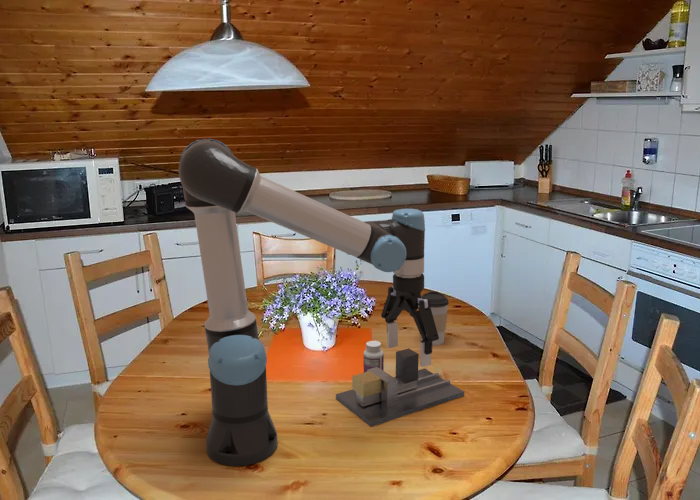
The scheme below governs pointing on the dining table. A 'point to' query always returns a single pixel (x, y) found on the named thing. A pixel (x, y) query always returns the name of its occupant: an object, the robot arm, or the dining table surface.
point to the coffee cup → (438, 313)
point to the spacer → (366, 384)
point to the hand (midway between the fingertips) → (408, 355)
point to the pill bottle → (373, 356)
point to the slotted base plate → (401, 397)
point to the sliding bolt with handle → (398, 376)
